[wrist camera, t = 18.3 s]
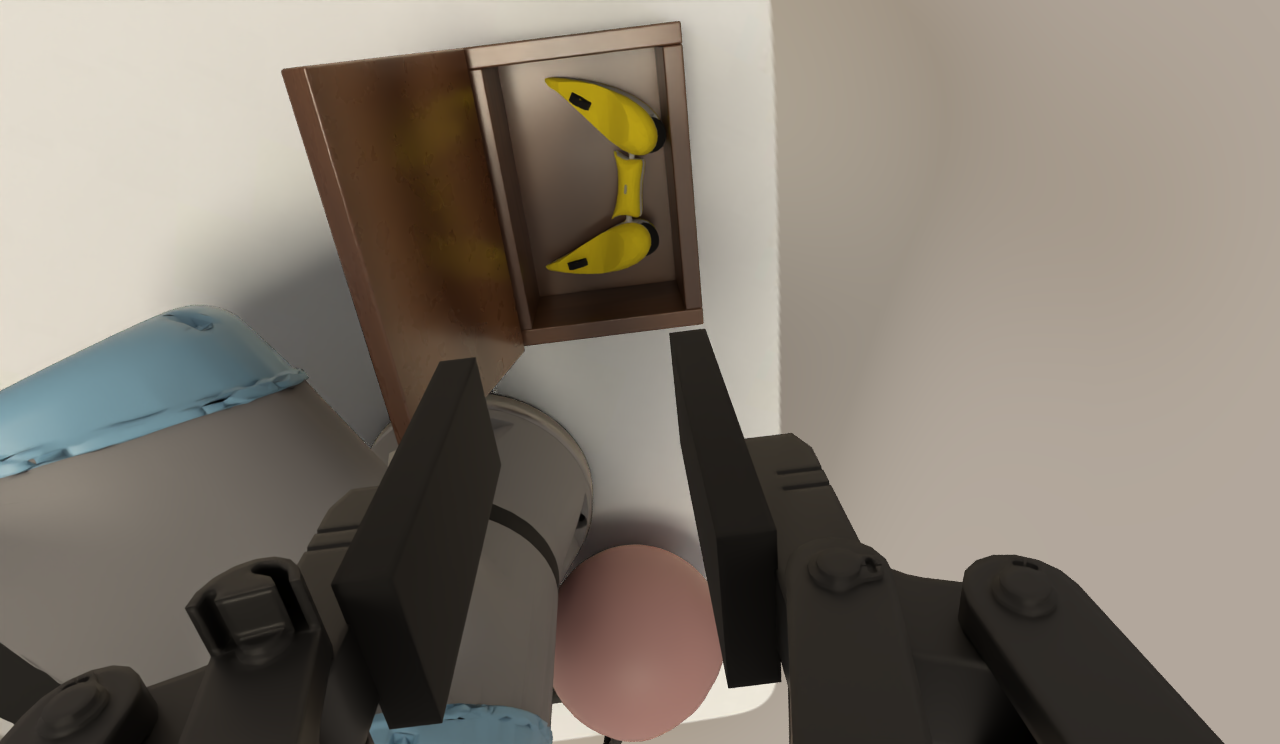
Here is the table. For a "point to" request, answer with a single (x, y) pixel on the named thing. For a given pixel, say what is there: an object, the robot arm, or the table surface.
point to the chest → (587, 181)
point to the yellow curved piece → (636, 135)
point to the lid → (410, 216)
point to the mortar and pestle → (635, 642)
